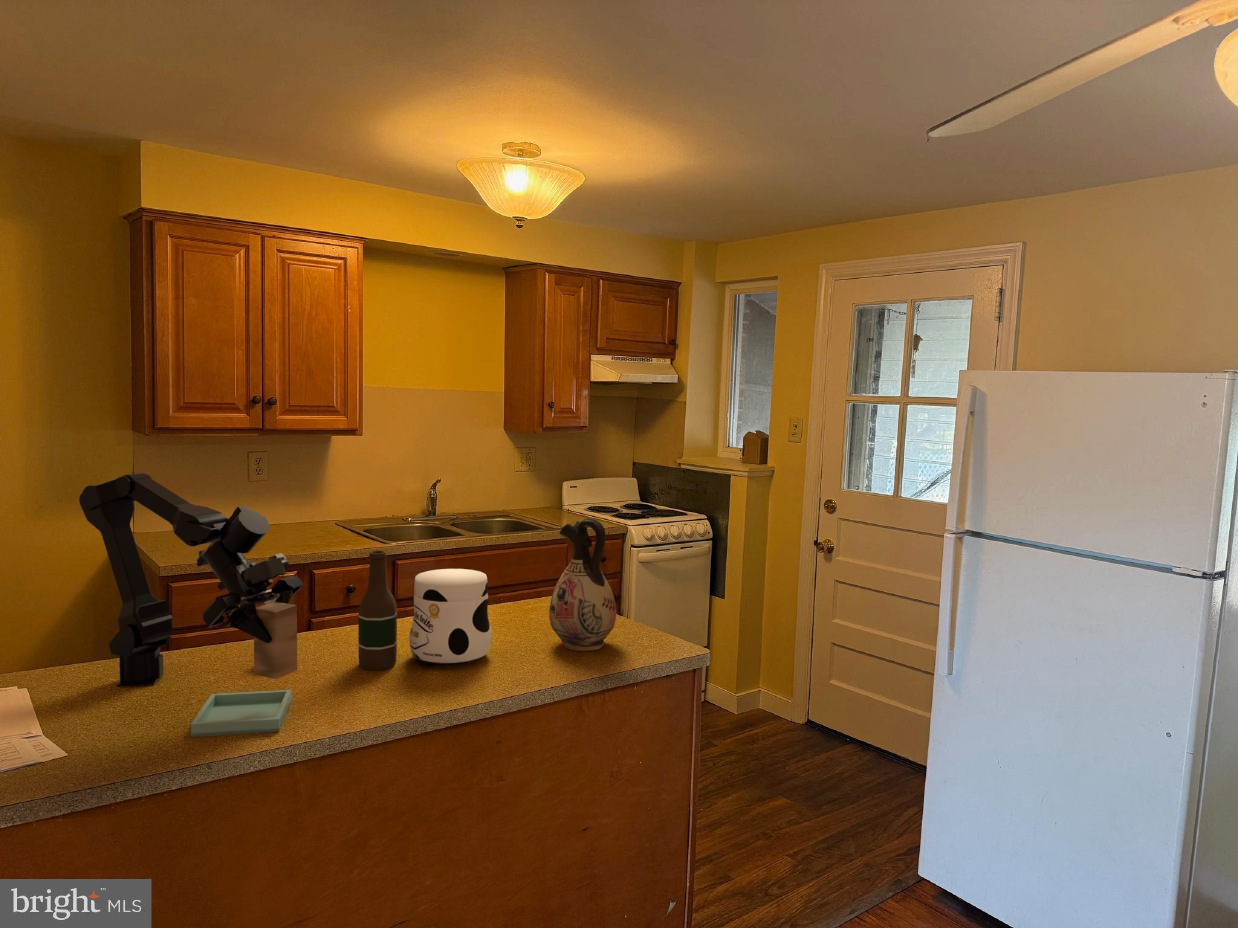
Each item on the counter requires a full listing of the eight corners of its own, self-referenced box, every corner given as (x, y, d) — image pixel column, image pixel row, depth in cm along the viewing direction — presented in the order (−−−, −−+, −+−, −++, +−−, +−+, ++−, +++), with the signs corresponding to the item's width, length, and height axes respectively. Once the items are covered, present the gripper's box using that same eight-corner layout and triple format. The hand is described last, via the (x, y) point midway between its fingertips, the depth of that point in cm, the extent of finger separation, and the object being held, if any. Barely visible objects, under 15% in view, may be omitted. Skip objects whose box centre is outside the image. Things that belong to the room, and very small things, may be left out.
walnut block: (254, 674, 147) (253, 608, 146) (275, 666, 152) (274, 601, 151) (276, 679, 145) (275, 611, 144) (297, 670, 150) (296, 605, 149)
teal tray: (191, 737, 137) (190, 724, 137) (211, 705, 150) (211, 693, 150) (279, 731, 140) (279, 718, 140) (291, 701, 153) (291, 689, 153)
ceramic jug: (533, 645, 190) (536, 515, 187) (580, 631, 201) (583, 509, 198) (588, 663, 179) (592, 525, 176) (634, 647, 190) (638, 517, 188)
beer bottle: (404, 661, 176) (404, 550, 174) (382, 673, 169) (382, 556, 167) (373, 656, 179) (373, 546, 177) (350, 668, 172) (350, 553, 169)
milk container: (392, 664, 175) (392, 580, 173) (439, 641, 191) (440, 564, 189) (463, 677, 168) (463, 589, 166) (506, 652, 184) (507, 572, 182)
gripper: (214, 550, 139) (266, 623, 136) (295, 533, 156) (343, 597, 153) (180, 590, 143) (230, 663, 140) (263, 569, 160) (309, 633, 157)
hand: (281, 637), depth 147 cm, fingers closed on walnut block, 5 cm apart
